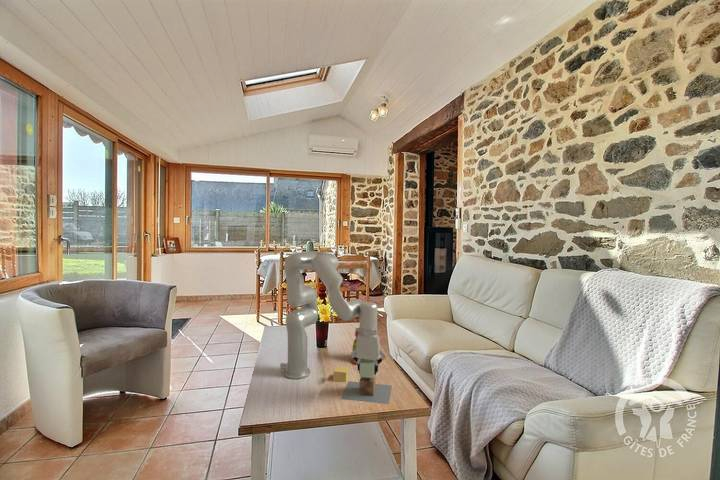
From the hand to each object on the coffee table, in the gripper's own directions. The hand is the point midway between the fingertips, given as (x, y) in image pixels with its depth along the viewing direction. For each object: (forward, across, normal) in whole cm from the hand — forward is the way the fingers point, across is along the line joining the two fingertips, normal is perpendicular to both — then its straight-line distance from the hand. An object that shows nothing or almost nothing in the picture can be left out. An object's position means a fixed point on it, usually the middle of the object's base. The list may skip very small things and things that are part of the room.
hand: (367, 372), depth 145 cm
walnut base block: (+9, 0, 0) cm, 9 cm away
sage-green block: (+1, 0, 0) cm, 1 cm away
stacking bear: (+10, -9, +36) cm, 39 cm away
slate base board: (+10, 0, 0) cm, 10 cm away
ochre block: (+10, -14, +10) cm, 20 cm away
